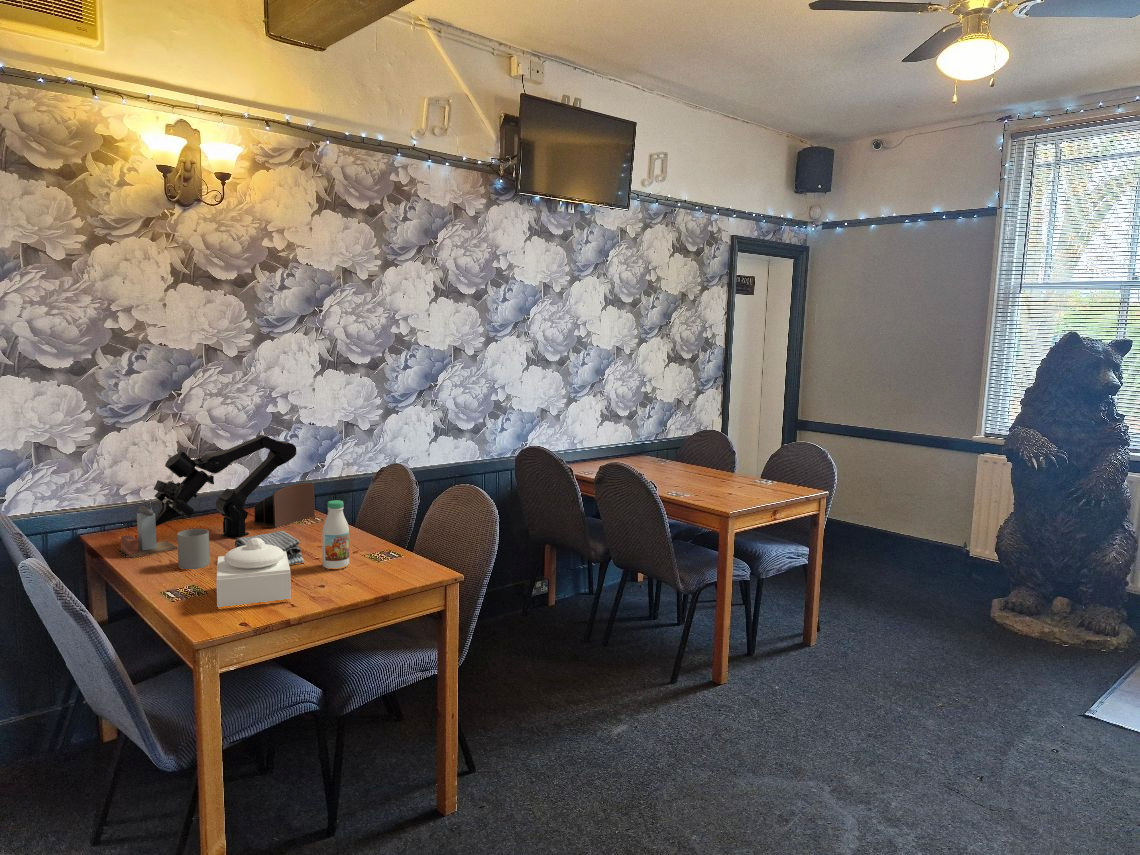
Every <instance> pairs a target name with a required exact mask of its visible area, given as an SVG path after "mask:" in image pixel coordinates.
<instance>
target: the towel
mask: <svg viewBox="0 0 1140 855" xmlns="http://www.w3.org/2000/svg"><path fill="white" fill-rule="evenodd" d="M252 538H260V539H262V540H263V541H264V542H265V544H268V545H273V546H277V547H279V548H281V549H282V550H283V551H286V553H287V558H288V562H289V565H292V564H296V563H302V562H304V563H305V560H304V558H303V557H302V556H303V554H302V553H301V552H302V549H301V548H300V546H298V545H300V544H301V541H300V540H299V539H298V538H296V537H293V536H292V535H291V534H289V533H287V532H286V531H284V530H277V531H274V532H270V533H263V534H258V535H257V534H256V535H252V536H246V537H245V536H242V537H238V538H235V541H234V546H235V548H237V547H240V546H244V545H246V544H247V542H248V541H249V540H250V539H252Z"/></svg>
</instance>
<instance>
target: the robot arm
mask: <svg viewBox="0 0 1140 855" xmlns="http://www.w3.org/2000/svg"><path fill="white" fill-rule="evenodd" d="M263 449H267V450H269V451H268V453H267V456H266V458H265V459H264V460H263V461H262V462H261V463H260V464H258V466H257V467H256V468H255V469H254V470H253V471H252V472H251V473H250V474H249V475H248V476H247V477H246V478H245V479H244V480H242V482H241V483H240V484H238V486H237V487H235V488H234V489H230V488H227V487H226V489H225V490H224V491H223V492H222V493H221V494H220V495H218V496H217V498H218V499H216V501H215V509H216V510H217V512H219V513H220V514H221V516H222V517H223V521H222V533H221V534H220V537H222V536H223V537H224V538H231V539H238V538H242V537H245V536H247V535H250V533H249V532H248V531H246V520H247V518H248V515H249V512H247V510H246V509H244V508H243V507H244V505H245V504H246V501H247V499H248V497H249V496H250V495H251V494H252V493H253V491H254V490H256V489H257V488H258V487H259V486H260V485H261V484H262V483H263V482H264V481H265V479H267V478H268V477H269V476H270V475H271V474H272V473H274V471H275V470H276V469H277V468H278V467H280V466H282V465H284V464H286V463H288V462H289V461H291V460H292V459H293V458H295V456H296V455H297V447H296V445H295V444H294V443H291V442H288V441H284V440H276V439H274V438H271V437H270V436H268V435H264V434H259V435H257V436H256V437H253V438H251V439H248V440H246V441H244V442H241V443H240V444H237V445H235V446H232V447H230V448H227V449H225V450H220V451H213V452H209V453H205V454H203V455H202V456H201V457H198V458H195V459H192V458H191V457H190V456H188V455H187V453H186V452H185V451H182V450H180V451H179V452H177V453H175V454H174V455H172V456H170V457H169V458H168V459H167V461H166V462H165V465H164V466H165V468H167V469H168V470H169V471H171V472H172V473H173V474H174V475H176V476H177V477H178V478H184V479H183V480H182V481H181V482H173V481H169V480H168V482H165V481H162V480H159V479H158V480H157V481H156V483H155V485H154V488H153V490H154V491H156V493H155V494H154V498H155V499H157V500H159V504H160V505H159V507H160V508H159V510H158V512H157V514H156V516H155V520H156V527H158V526H160V525H162V524H164V523H166V522H169V521H171V520H174V519H175V518H178V517H181V516H182V514H184V515H185V517H187V518H191V517H192V516H193V515H194V514H195V511H194V510H195V509H194V507H192V506H190V505H189V504H188V503H189V502H190V501H191V500H192V499H193V498H194V499H196V498H197V497H198V492H199V491H201V489H202V488H203V487H204V486H205V485H206V484H207V483H208V484H211V485H215V481H214V480H215V479H214V478H215V476H214V475H213V474H218V473H220V472H222V471H224V470H225V469H226V468H228V467H229V466H230V465H231V464H233V462H235V461H237V460H239V459H242V458H244V457H246V456H249V455H251V454H254V453H255V452H258V451H260V450H263ZM198 469H201V470H198ZM207 472H208V473H210V474H211V475H209V474H208V473H207ZM181 513H182V514H181Z"/></svg>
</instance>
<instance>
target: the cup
mask: <svg viewBox="0 0 1140 855" xmlns="http://www.w3.org/2000/svg"><path fill="white" fill-rule="evenodd" d="M176 537H177V538H176V539H177V562H178V563H177V564H178V568H179V567H180V568H183V569H182V570H184V569H194V570H199V569H198V568H201V569H203V567H204V568H206V567H205V566H207V565H209V566H210V564H209V563H211V562H210V560H211V559H210V530H208V529H204V528H191V529H183V530H181V531H179V532H177V534H176ZM207 567H208V566H207ZM180 568H179V569H180Z"/></svg>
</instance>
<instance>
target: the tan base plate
mask: <svg viewBox="0 0 1140 855" xmlns="http://www.w3.org/2000/svg"><path fill="white" fill-rule="evenodd" d="M120 543H121V548H120V552H121V553H123V554H124V555H125V554H126V556H127V555H128V556H129V557H128V556H127V557H128V558H130V557H133V558H136V557H135V556H138V557H141V556H140V555H144V556H147V555H146V554H149V555H152V554H151V553H155V554H157V553H156V552H161V553H163V552H162V551H166V552H168V551H167V550H172V551H176V550H175V549H177V550H178V546H177V545H175V544H173V543H171V542H169V540H166V541H165V540H164V541H158V542H156V546H157V548H154V549H149V550H141V549H140V548H138V538H136V537H134V536H132V535H131V534H127V535H121V536H120Z"/></svg>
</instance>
